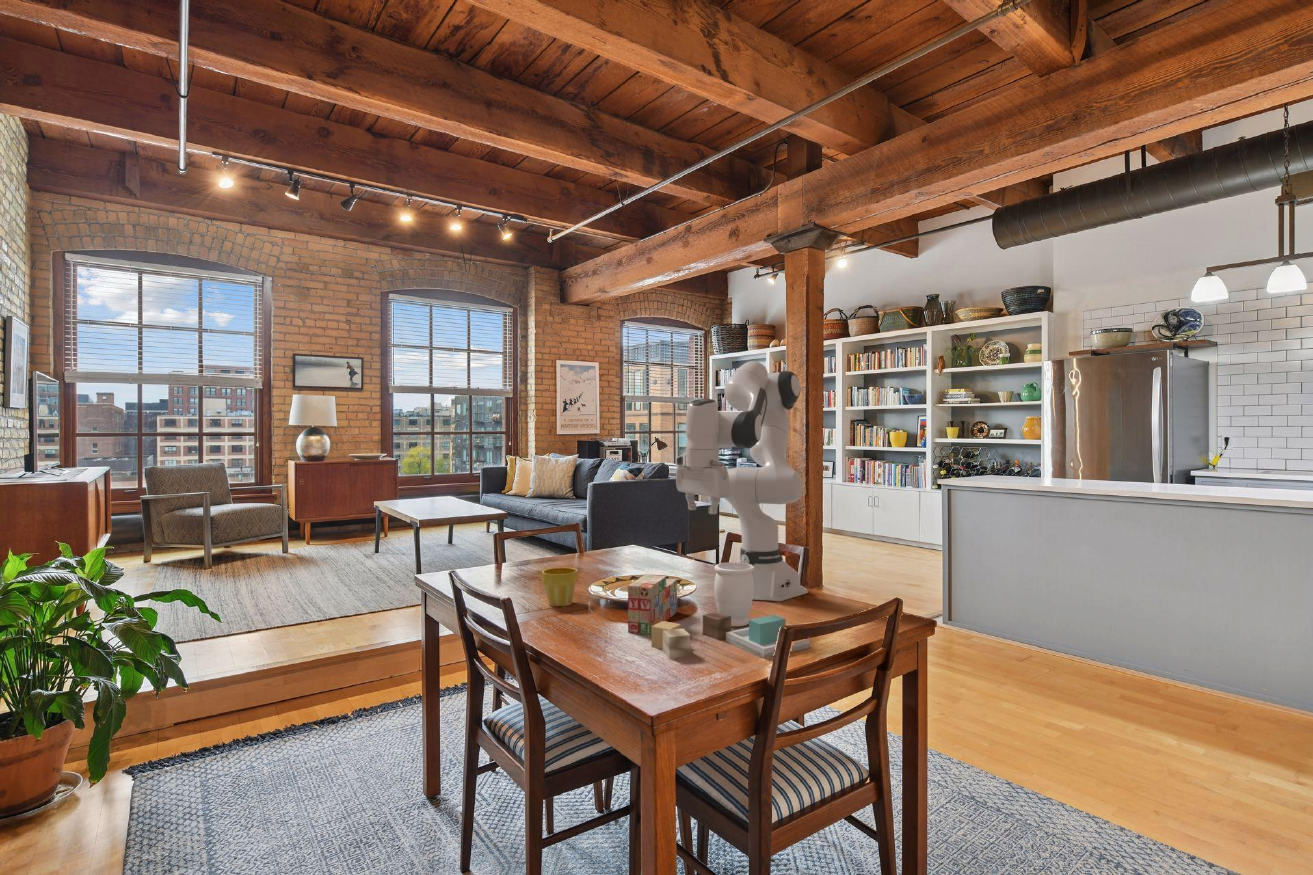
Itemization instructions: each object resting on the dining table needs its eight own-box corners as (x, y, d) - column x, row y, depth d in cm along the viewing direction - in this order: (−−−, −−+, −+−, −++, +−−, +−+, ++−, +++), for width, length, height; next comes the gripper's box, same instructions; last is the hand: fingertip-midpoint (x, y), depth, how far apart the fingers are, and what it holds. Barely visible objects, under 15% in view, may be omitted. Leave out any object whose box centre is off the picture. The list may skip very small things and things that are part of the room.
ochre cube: (663, 641, 164) (663, 620, 164) (680, 644, 161) (680, 624, 161) (651, 647, 160) (651, 626, 159) (669, 650, 157) (669, 629, 157)
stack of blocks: (656, 610, 190) (656, 566, 190) (677, 612, 188) (677, 568, 188) (627, 632, 170) (627, 584, 170) (650, 635, 168) (650, 586, 168)
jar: (724, 614, 186) (724, 560, 185) (759, 620, 180) (760, 564, 180) (707, 624, 177) (707, 567, 176) (744, 630, 171) (744, 572, 171)
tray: (770, 631, 171) (770, 622, 171) (809, 647, 159) (809, 638, 159) (726, 641, 163) (726, 632, 163) (763, 658, 151) (763, 648, 151)
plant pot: (546, 598, 202) (546, 566, 202) (580, 599, 202) (580, 566, 202) (538, 608, 192) (538, 574, 192) (575, 608, 191) (574, 574, 191)
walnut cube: (716, 630, 172) (716, 611, 172) (731, 635, 168) (731, 615, 168) (702, 635, 168) (702, 615, 168) (717, 639, 165) (717, 619, 164)
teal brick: (774, 634, 165) (774, 614, 165) (785, 639, 161) (785, 618, 161) (748, 640, 161) (748, 619, 160) (759, 645, 157) (759, 624, 157)
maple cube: (683, 649, 158) (683, 628, 158) (690, 656, 153) (690, 635, 153) (662, 651, 156) (662, 630, 156) (669, 659, 152) (669, 637, 151)
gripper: (735, 461, 172) (735, 515, 172) (690, 457, 189) (690, 506, 190) (715, 462, 169) (715, 517, 169) (671, 458, 186) (672, 508, 187)
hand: (702, 511), depth 180 cm, fingers open, 8 cm apart
